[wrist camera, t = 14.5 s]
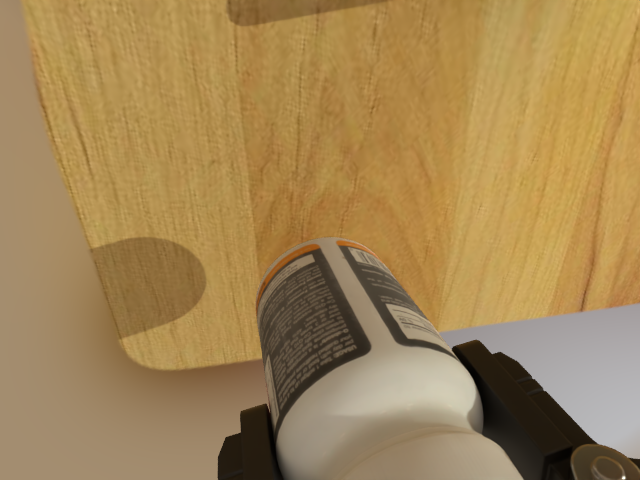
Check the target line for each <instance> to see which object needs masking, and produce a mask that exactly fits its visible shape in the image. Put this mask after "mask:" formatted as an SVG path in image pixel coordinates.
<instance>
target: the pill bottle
mask: <svg viewBox="0 0 640 480" xmlns="http://www.w3.org/2000/svg"><path fill="white" fill-rule="evenodd" d="M256 316H257V323H258V330H259V336H260V342H261V349H262V358H263V363H264V371H265V380H266V386H267V392H268V400H269V407H270V416H271V423H272V430H273V437H274V444H275V449H276V459H277V462H278V465H279V469H280V471H281V474H282V476H283V478H284V480H524V479H523V478H522V476H521V475H520V473H519V472H518V470H517V469H516V467H515V466H514V465H513V463H512V462H511V460H510V458H509V457H508V455H507V454H506V452H505V451H504V450H503V449H502V448H501V447H500V446H499V445H498V444H497V443H495V442H493V441H492V440H490V439H488V438H486V437H484V436H483V435H482V430H483V406H482V401H481V397H480V394H479V392H478V389H477V386H476V384H475V382H474V380H473V378H472V377H471V375H470V374H469V372H468V371H467V369H466V368H465V367H464V365H463V364H462V363H461V362H460V361H459V359H458V358H457V357H456V355H455V354H454V353H453V351H452V350H451V349H450V348H449V347H448V345H447V344H446V343H445V341H444V340H443V338H442V337H441V336H440V334H439V333H438V332H437V331H436V329H435V328H434V326H433V325H432V324H431V322H430V321H429V320H428V319H427V318H426V316H425V315H424V314H423V313H422V311H421V310H420V309H419V308H418V306H417V305H416V304H415V303H414V301H413V300H412V299H411V297H410V296H409V295H408V294H407V292H406V291H405V290H404V289H403V287H402V286H401V285H400V284H399V282H398V281H397V280H396V278H395V277H394V276H393V275H392V273H391V272H390V270H389V269H388V268H387V267H386V266H385V264H384V263H383V262H382V261H381V260H380V259H379V257H378V256H377V255H376V254H374V253H373V252H372V251H371V250H370V249H368V248H367V247H365V246H364V245H362V244H360V243H357V242H355V241H352V240H348V239H344V238H338V237H324V238H317V239H312V240H309V241H306V242H304V243H301V244H298V245H296V246H295V247H293V248H291V249H289V250H288V251H286V252H285V253H283V254H282V255H281V256H280V257H279V258H277V259H276V260H275V261H274V262H273V263H272V265H271V266H270V267H269V268H268V269H267V271H266V273H265V275H264V276H263V278H262V280H261V282H260V285H259V288H258V291H257V297H256Z"/></svg>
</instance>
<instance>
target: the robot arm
mask: <svg viewBox="0 0 640 480" xmlns="http://www.w3.org/2000/svg"><path fill="white" fill-rule="evenodd" d="M452 351H453V353H454V354H455V355H456V357H457V358H458V359H459V361H460V362H461V363H462V364H463V365H464V367H465V368H466V369H467V371H468V372H469V374H470V375H471V377H472V378H473V380H474V382H475V384H476V386H477V389H478V392H479V394H480V397H481V401H482V406H483V430H482V435H483V436H484V437H486V438H488V439H490V440H492V441H493V442H495V443H497V444H498V445H499V446H500V447H501V448H502V449H503V450H504V451H505V452H506V454H507V455H508V457H509V458H510V460H511V462H512V463H513V465H514V466H515V467H516V469H517V470H518V472H519V473H520V475H521V476H522V478H523V479H524V480H640V459H633V458H627V457H626V456H625V455H623V454H622V453H620V452H618V451H616V450H614V449H612V448H609V447H607V446H603V445H599V444H597V443H596V442H595V441H594V440H592V439H591V438H590V437H589V436H588V435H587V434H586V433H585V432H584V431H583V430H582V429H581V428H580V426H579V425H578V424H577V423H576V422H575V421H574V420H573V419H572V418H571V417H570V416H569V415H568V414H567V413H566V412H565V411H564V410H563V409H562V408H561V407H560V405H559V404H558V403H557V402H556V401H555V400H554V399H553V398H552V397H551V396H550V395H549V394H548V393H547V392H546V391H544V390H543V388H542V387H541V386H540V385H539V383H538V382H537V381H536V380H535V379H532V376H531V375H530V374H529V373H528V372H527V371H526V370H525V369H524V368H523V367H522V366H521V365H520V364H519V363H518V362H517V361H515V360H514V359H512V358H510V357H508V356H507V355H505V354H503V353H501V352H498V353H495V354H491V353H490V352H489V350H488V349H487V348H486V347H485V346H484V345H483V344H482V343H481V342H480V341H478V340H473V341H470V342H466V343H463V344H460V345H457V346H454V347H453V348H452ZM240 422H241V433H238V434H235V435H232V436H229V437H226V438H225V441H224V443H223V446H222V448H221V451H220V454H219V456H218V480H284V478H283V476H282V474H281V471H280V469H279V465H278V462H277V459H276V449H275V444H274V437H273V430H272V423H271V416H270V412H269V409H268V406H267V404H263V405H259V406H256V407H253V408H250V409H246V410H243V411H241V414H240Z"/></svg>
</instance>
